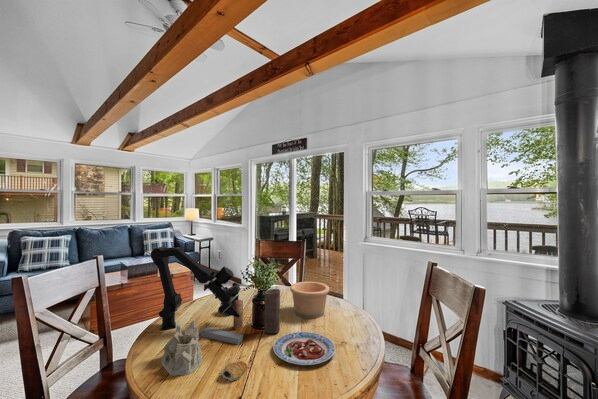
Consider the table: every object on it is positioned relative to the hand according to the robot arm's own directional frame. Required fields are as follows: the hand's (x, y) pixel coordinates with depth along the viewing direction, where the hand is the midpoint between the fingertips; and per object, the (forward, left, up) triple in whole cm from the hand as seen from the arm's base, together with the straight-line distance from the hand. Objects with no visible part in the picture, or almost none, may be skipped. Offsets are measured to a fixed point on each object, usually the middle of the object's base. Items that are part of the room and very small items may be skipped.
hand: (240, 313), depth 136 cm
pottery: (-4, +40, -7) cm, 41 cm away
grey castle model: (+20, -28, -7) cm, 35 cm away
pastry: (+35, -10, -8) cm, 37 cm away
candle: (+10, +13, -7) cm, 18 cm away
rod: (-1, -1, -7) cm, 7 cm away
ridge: (+7, -10, -7) cm, 14 cm away
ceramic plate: (+31, +20, -8) cm, 37 cm away
